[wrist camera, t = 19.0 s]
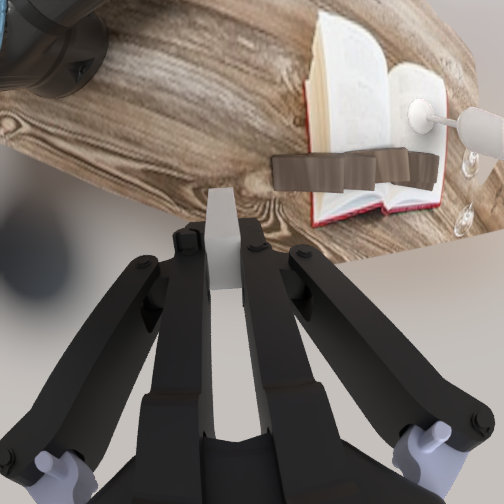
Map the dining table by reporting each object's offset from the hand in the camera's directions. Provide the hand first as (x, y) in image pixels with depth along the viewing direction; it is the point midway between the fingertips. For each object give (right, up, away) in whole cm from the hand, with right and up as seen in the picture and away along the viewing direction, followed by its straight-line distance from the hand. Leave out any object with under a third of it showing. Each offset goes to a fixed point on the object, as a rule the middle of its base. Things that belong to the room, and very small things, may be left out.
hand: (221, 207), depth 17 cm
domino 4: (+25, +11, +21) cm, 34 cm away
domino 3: (+17, +10, +22) cm, 29 cm away
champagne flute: (+32, +21, +19) cm, 42 cm away
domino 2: (+10, +9, +22) cm, 26 cm away
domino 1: (+5, +9, +21) cm, 24 cm away
